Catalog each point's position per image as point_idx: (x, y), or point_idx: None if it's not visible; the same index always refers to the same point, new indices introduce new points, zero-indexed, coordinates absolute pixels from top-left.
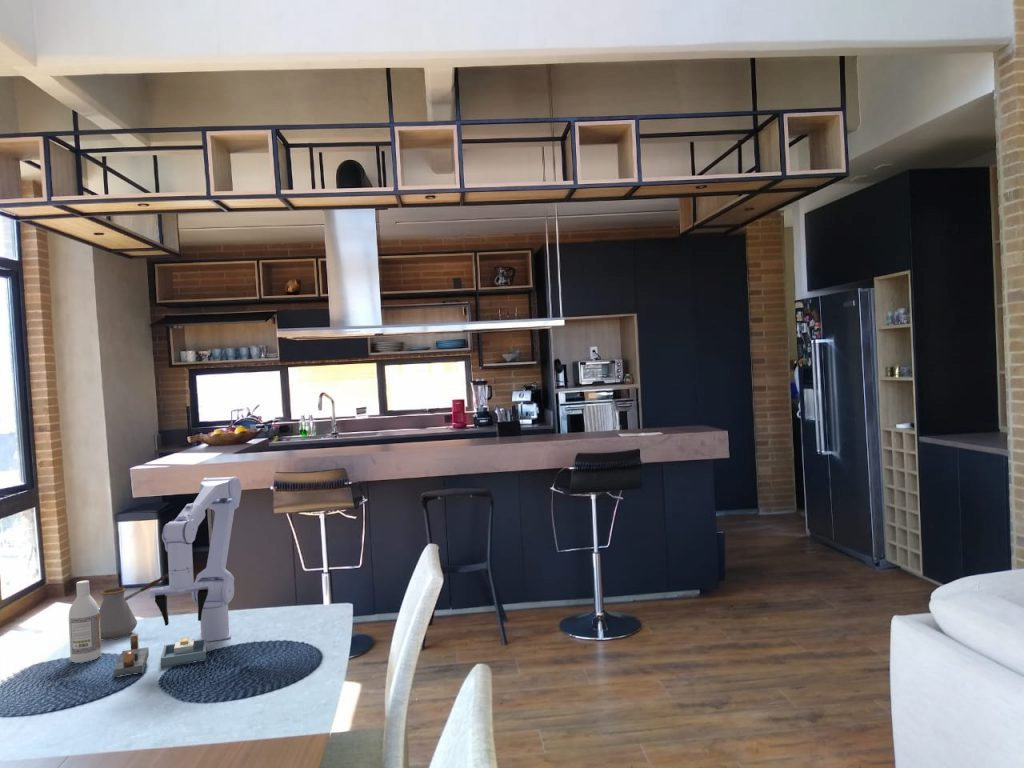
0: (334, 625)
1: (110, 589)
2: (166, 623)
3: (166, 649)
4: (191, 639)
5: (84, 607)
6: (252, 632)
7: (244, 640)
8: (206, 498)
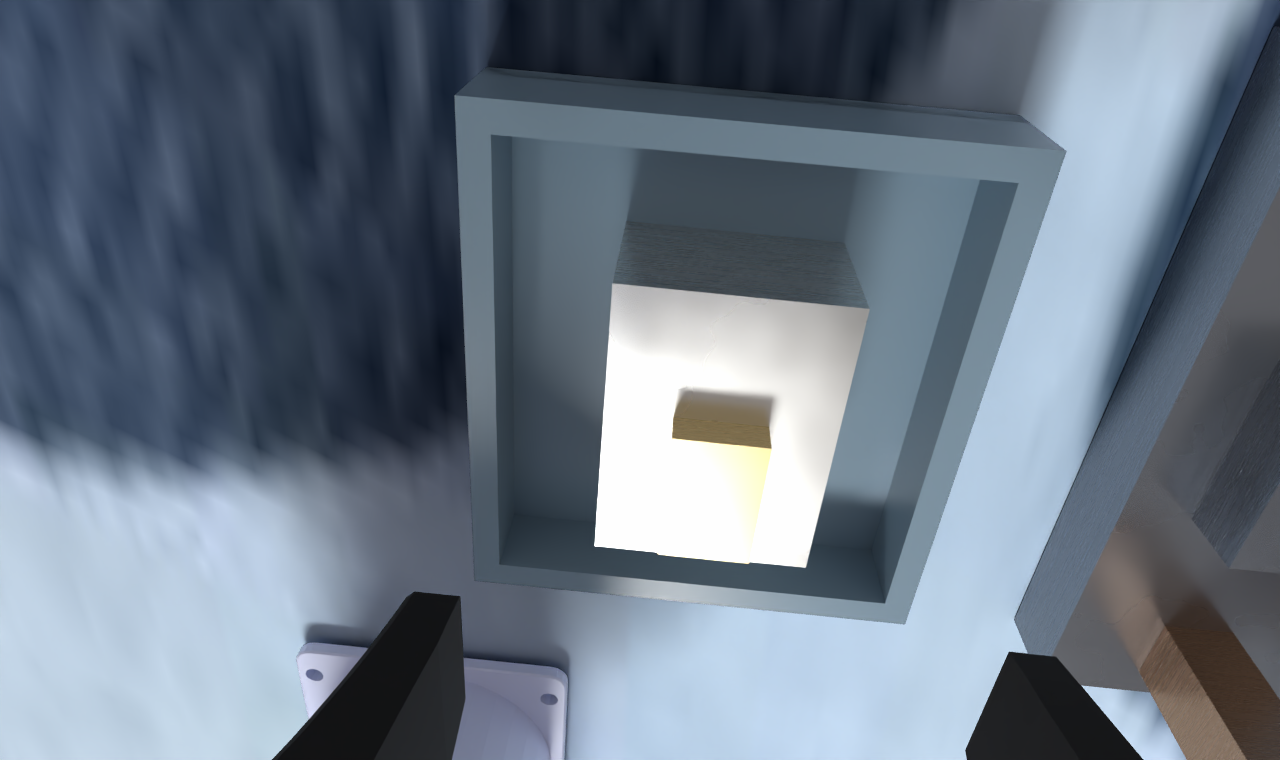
0: None
1: None
2: (1053, 678)
3: (886, 556)
4: (625, 542)
5: None
6: (141, 687)
7: (163, 537)
8: None
